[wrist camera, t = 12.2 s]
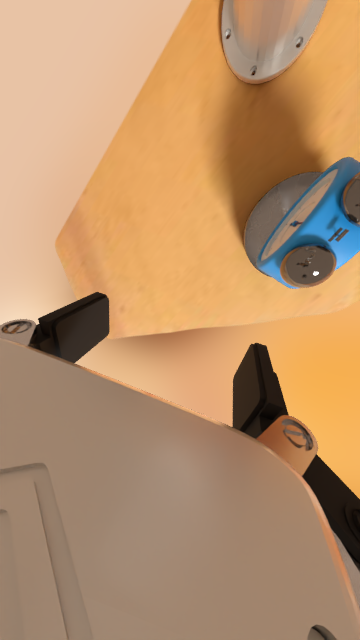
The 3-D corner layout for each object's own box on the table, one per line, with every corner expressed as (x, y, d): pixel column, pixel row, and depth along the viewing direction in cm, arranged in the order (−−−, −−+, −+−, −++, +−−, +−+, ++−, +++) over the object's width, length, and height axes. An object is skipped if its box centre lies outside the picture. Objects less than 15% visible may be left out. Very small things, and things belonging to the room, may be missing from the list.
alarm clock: (314, 174, 24) (404, 113, 11) (351, 198, 24) (482, 164, 11) (251, 258, 31) (262, 280, 18) (279, 277, 31) (311, 311, 18)
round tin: (264, 172, 30) (270, 161, 25) (357, 193, 28) (384, 185, 23) (231, 260, 37) (231, 265, 32) (302, 280, 35) (313, 289, 30)
